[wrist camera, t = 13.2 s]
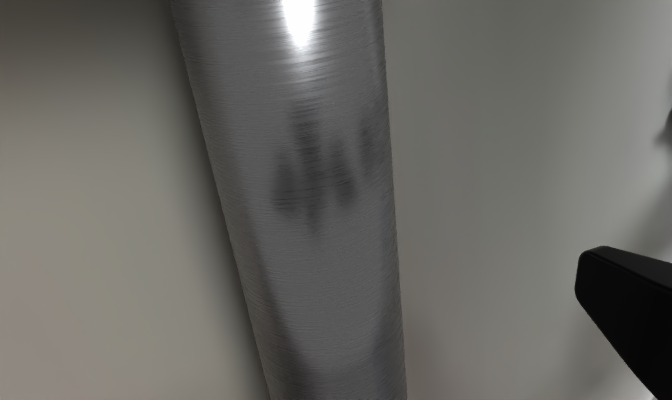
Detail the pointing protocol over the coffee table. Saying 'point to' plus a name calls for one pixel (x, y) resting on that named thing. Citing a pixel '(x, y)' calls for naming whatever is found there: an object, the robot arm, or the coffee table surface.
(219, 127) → the axle
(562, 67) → the coffee table surface
